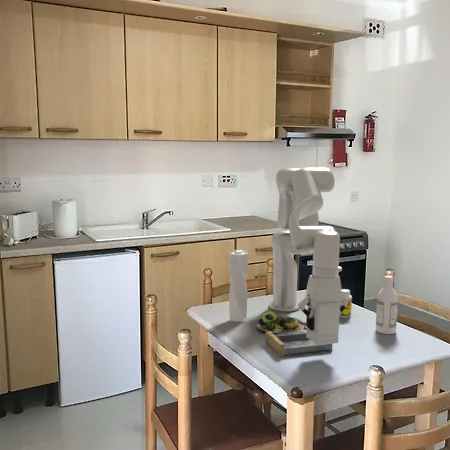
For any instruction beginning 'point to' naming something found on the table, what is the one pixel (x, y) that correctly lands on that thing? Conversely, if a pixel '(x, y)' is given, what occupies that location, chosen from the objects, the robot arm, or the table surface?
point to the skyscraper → (238, 284)
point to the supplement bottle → (347, 310)
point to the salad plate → (279, 323)
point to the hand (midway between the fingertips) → (322, 327)
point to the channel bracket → (294, 344)
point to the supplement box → (325, 324)
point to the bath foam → (387, 308)
